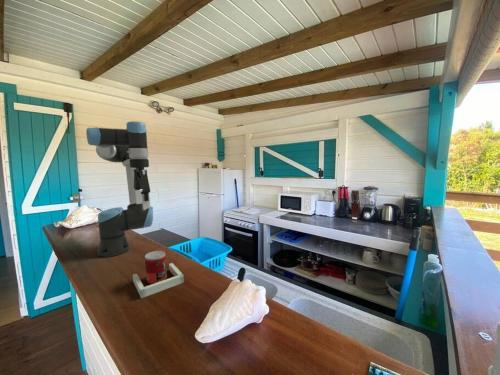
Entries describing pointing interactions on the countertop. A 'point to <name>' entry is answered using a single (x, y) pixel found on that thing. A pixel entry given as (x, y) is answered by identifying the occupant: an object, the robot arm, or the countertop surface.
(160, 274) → the canned food
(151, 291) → the bay
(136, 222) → the robot arm
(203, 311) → the countertop surface
